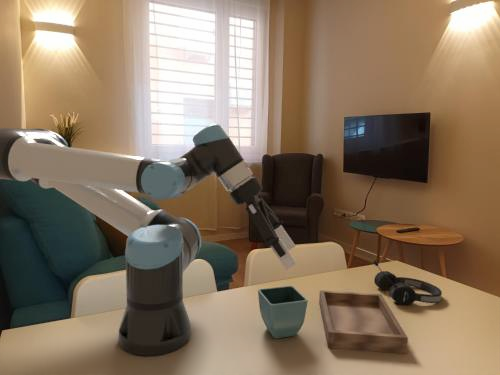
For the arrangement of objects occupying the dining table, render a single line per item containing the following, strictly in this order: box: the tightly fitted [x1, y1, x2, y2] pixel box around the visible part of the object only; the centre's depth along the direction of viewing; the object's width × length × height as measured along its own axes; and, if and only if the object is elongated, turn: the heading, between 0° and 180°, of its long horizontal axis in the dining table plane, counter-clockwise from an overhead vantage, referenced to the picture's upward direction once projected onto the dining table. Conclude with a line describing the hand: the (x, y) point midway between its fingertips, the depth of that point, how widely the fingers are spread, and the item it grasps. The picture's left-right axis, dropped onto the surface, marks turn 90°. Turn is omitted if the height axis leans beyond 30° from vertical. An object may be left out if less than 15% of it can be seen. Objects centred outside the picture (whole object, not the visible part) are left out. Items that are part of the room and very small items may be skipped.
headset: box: [373, 260, 443, 306], centre depth 106 cm, size 14×10×20 cm
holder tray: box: [318, 289, 409, 355], centre depth 88 cm, size 16×22×4 cm
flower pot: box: [257, 285, 308, 339], centre depth 84 cm, size 9×9×9 cm
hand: (291, 257), depth 89 cm, fingers open, 13 cm apart
